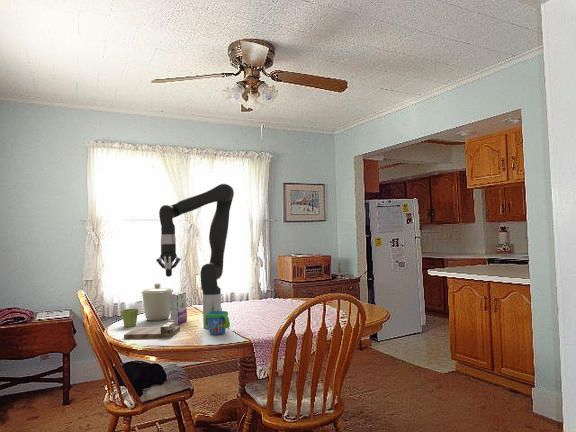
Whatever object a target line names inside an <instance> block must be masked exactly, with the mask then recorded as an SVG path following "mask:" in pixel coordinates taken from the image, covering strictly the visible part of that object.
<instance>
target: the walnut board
mask: <svg viewBox="0 0 576 432" xmlns="http://www.w3.org/2000/svg"><path fill="white" fill-rule="evenodd" d="M161 327H162V326H152V327H151V326H150V327H149V326H147V327H144V326H143V327H136V328H134V329H132V330H130V331H128V332H126V333H124V334H123V340H134V339H138V340H140V339H170V338H172V337H174V336H175V335H176V334H177V333H179V332H180V331H181V327H180V326H175V328H174V329H173V328H170V329H169V330H168V333H167V334H161Z"/></svg>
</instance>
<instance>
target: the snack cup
mask: <svg viewBox="0 0 576 432" xmlns="http://www.w3.org/2000/svg"><path fill="white" fill-rule="evenodd" d="M205 324H206V325H208V327H209V329H208V331H209V335H211V336H221V335H224V334H225V333H226V332H227V331H226V330H227V329H230V327H231V323H230V319H229V311H227V310H226V311H225V310H222V311H213V312H208V313H206V320H205Z"/></svg>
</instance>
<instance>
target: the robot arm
mask: <svg viewBox="0 0 576 432" xmlns="http://www.w3.org/2000/svg"><path fill="white" fill-rule="evenodd" d="M234 195H235V192H234V188H233V187H232V186H231V185H230V184H227V183H220V184H219V185H216V186H215V187H212V188H211V189H209V190H207V191H205V192H202V193H200V194H198V195H197V194H196V195H193V196H190V197H187V198H184V199H182V200H179V201H177V202H176V203H172V204H170V205H169V204H164V205H163V204H162V206H161V207H160V208H159V212H158V216H159V217H158V218H159V223H160V226H161V229H160V231H161V233H160V256H159V257H158V258H157V259H155V260H156V262H157V263H158V264H159V266H160V267H161V269H164V270H165V276H166V277H167V278H169V277H172V275H173V269H174V268H176V267H177V266H178V264H179V263H180V262H181V260H182V258H181V257H179V256H177V248H176V247H177V245H176V244H177V241H176V240H177V238H176V226H175V224H174V221H173V220H174V218H177V217H179V216H181V215H184V214H187V213H189V212H192V211H195V210H198V209H200V208H202V207H204V206H206V205H208V204H212V203H216V208H215V212H214V215H213V217H212V220H211V223H210V227H209V233H208V234H209V235H208V243H209V246H210V260H209V263H206V264H203V265H202V267H201V268H200V273H199V274H200V287H201V291H202V317H203V319H202V321H203V322H202V323H203V329H208V330H209V327H208V325H206V324H205V320H206V313H208V312H213V311H223V307H222V299H221V297H222V295H221V293H222V292H221V291H222V289H221V288H220V286H218V280H219V279H220V278H221V277H222V276H223V272H224V259H225V258H224V257H225V255H224V254H225V250H226V244H227V243H226V242H227V238H228V233H229V232H228V231H229V222H230V211H231V207H232V203H233V198H234Z"/></svg>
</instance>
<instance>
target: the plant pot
mask: <svg viewBox="0 0 576 432" xmlns="http://www.w3.org/2000/svg"><path fill="white" fill-rule="evenodd" d="M139 310H140V309H139V308H126V309H121V310H120V312H121V315H122V316H121V317H122V321H123V326H124V327H125V328H126V327H127V328H130V327H134V326H135V327H136V325H137V322H138V321H137V319H138V315H139Z"/></svg>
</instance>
